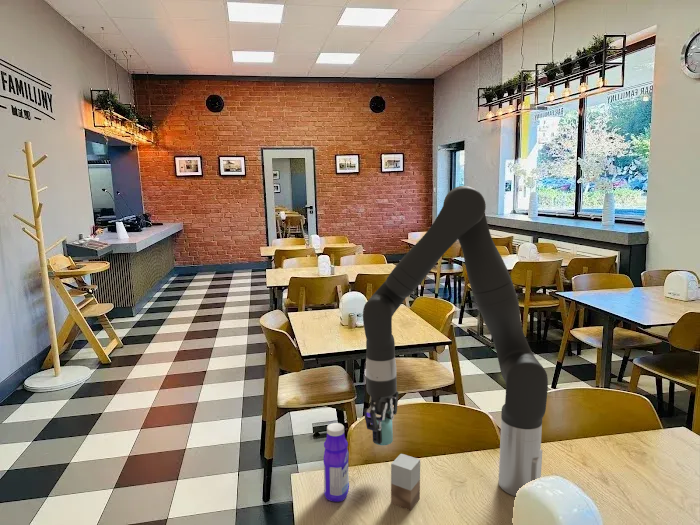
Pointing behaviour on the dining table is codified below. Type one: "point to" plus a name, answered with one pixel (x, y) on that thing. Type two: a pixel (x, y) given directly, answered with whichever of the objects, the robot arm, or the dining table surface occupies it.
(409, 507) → the base block
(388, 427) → the teal rounded cylinder
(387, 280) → the robot arm
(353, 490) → the dining table surface
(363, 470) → the dining table surface
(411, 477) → the mid block
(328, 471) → the bottle
